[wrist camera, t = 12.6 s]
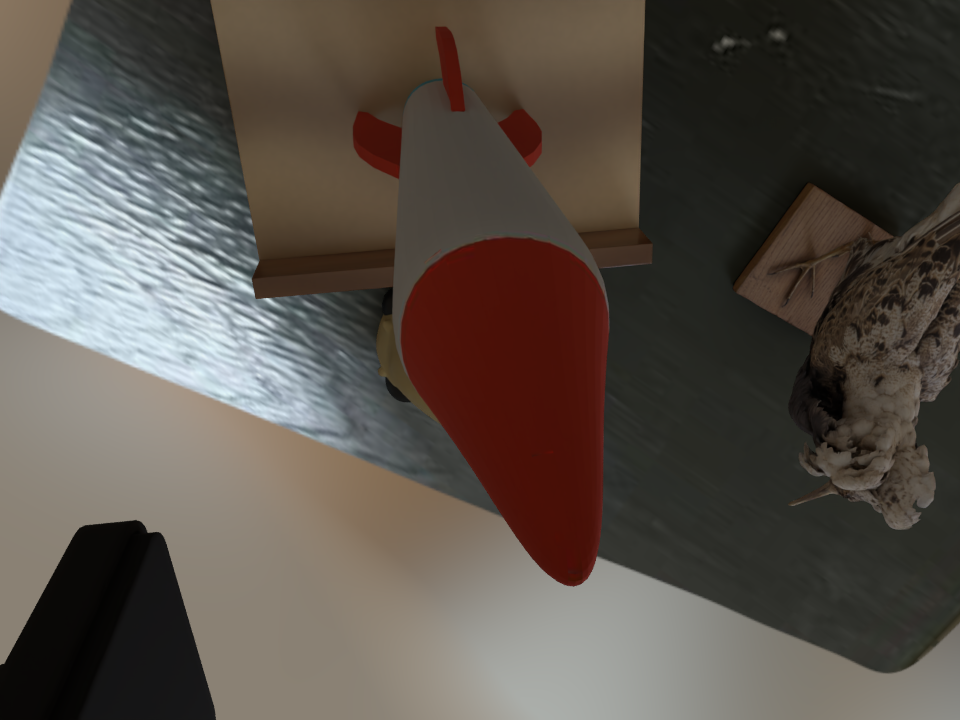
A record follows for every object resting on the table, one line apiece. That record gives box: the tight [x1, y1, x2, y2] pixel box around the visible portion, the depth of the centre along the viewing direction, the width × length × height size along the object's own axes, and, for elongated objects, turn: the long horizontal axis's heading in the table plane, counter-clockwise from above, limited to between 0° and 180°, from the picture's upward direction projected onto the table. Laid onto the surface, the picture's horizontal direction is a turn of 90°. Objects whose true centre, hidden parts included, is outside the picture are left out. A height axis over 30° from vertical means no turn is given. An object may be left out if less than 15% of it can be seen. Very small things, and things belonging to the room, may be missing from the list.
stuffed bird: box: [733, 182, 960, 530], centre depth 45 cm, size 10×20×17 cm, turn 169°
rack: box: [210, 0, 653, 299], centre depth 40 cm, size 14×18×12 cm
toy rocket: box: [353, 26, 609, 586], centre depth 23 cm, size 6×6×30 cm
